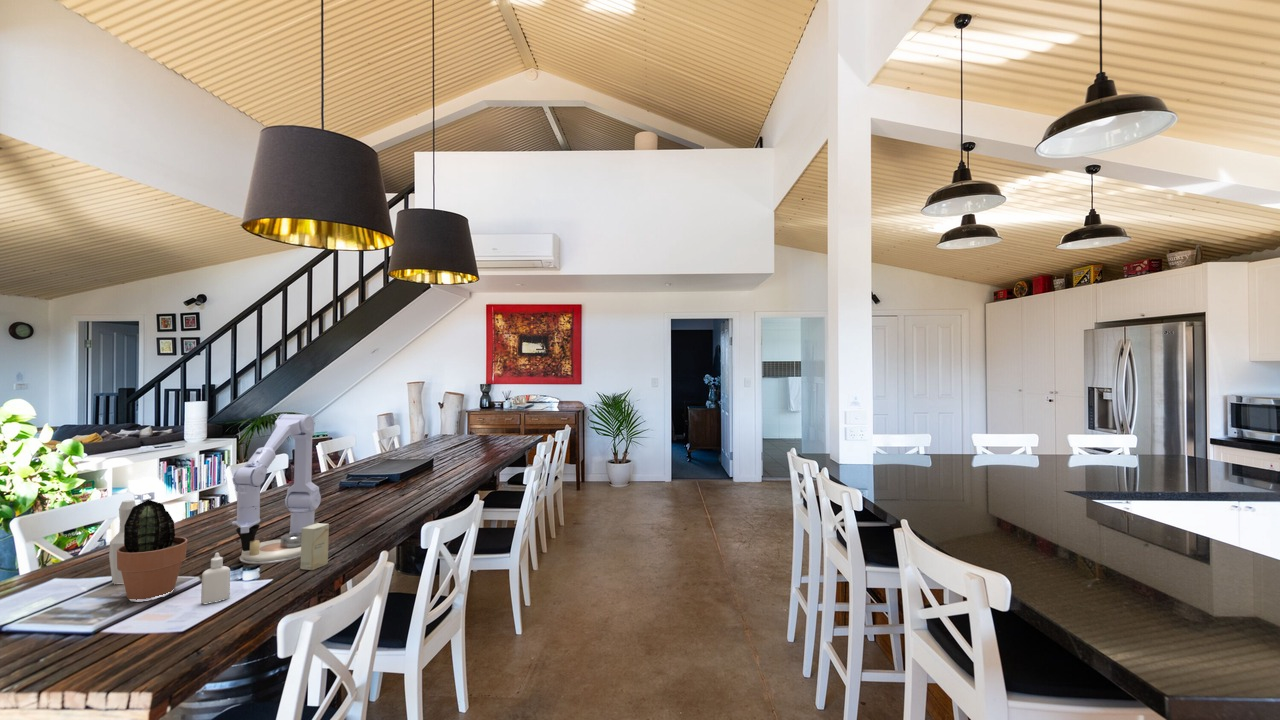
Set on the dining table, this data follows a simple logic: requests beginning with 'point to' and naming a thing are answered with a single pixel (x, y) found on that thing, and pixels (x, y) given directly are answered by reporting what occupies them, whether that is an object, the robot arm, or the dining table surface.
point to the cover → (291, 540)
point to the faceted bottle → (119, 540)
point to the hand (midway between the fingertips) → (247, 550)
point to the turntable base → (268, 561)
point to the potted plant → (150, 552)
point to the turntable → (268, 551)
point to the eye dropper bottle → (215, 581)
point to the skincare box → (314, 546)
